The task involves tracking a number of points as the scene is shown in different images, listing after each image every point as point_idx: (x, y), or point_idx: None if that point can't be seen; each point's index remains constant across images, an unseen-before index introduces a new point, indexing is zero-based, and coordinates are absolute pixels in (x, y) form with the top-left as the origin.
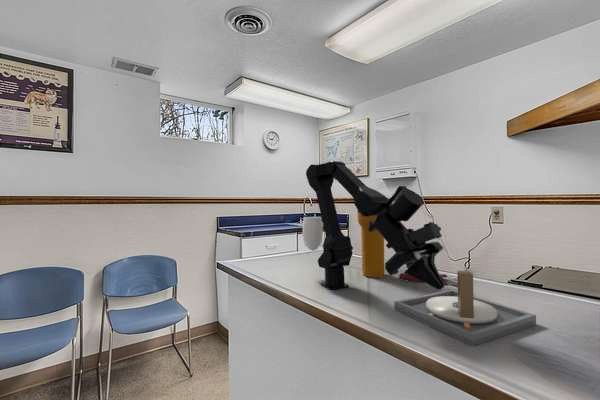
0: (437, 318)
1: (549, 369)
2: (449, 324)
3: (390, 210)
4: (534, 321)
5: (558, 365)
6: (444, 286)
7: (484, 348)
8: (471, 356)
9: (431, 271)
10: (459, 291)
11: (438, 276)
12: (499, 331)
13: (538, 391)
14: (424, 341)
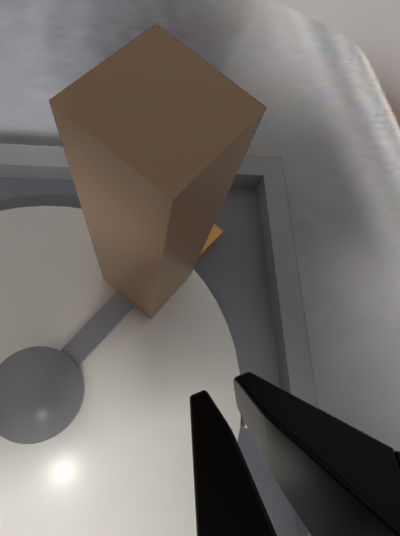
0: (291, 330)
1: (188, 32)
2: (290, 257)
3: None
4: None
5: (146, 27)
6: (191, 395)
7: None
8: (320, 151)
9: (393, 495)
10: (202, 231)
11: (240, 466)
12: None
13: (301, 20)
14: (394, 277)
